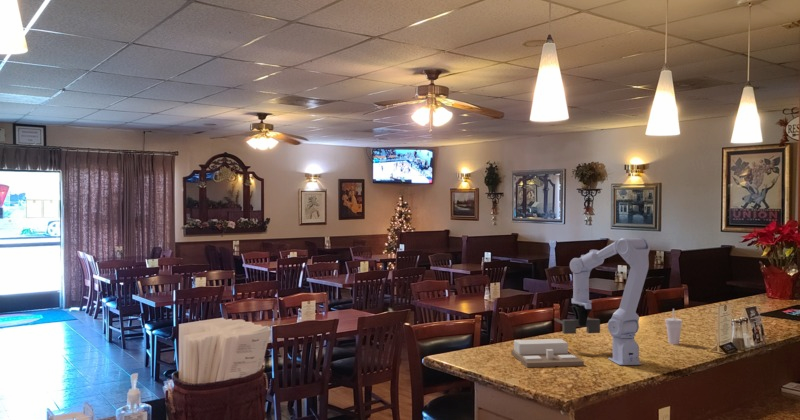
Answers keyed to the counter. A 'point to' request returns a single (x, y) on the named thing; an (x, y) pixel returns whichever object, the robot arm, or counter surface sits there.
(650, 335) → the counter surface
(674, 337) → the smoothie
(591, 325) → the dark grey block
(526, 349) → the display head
